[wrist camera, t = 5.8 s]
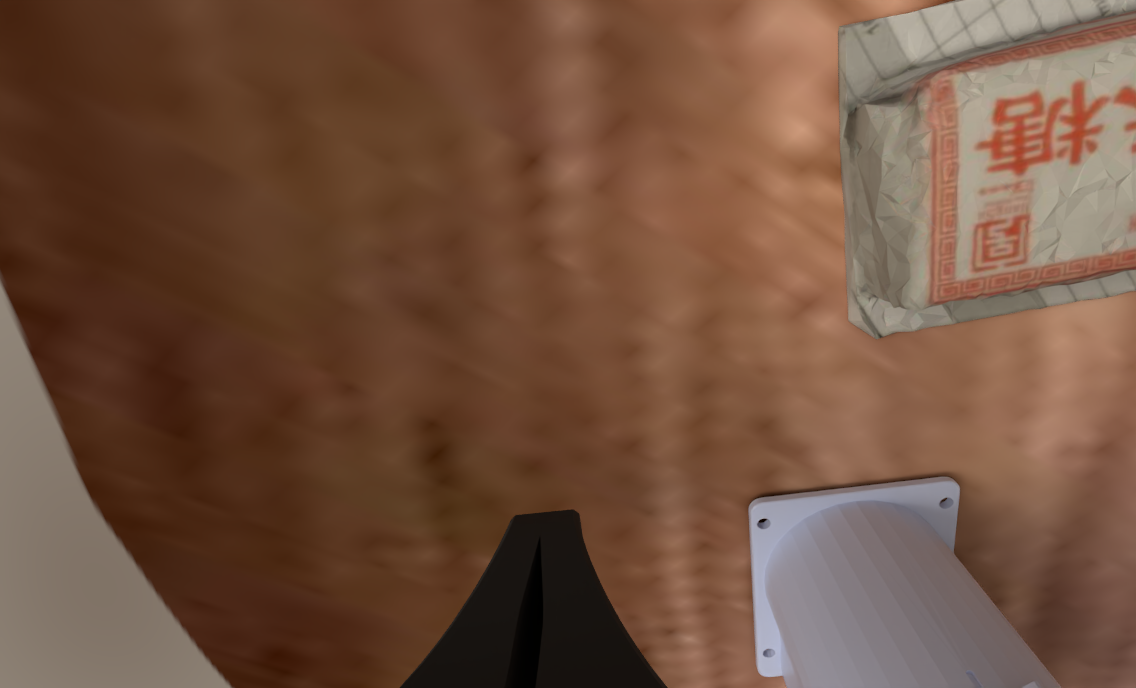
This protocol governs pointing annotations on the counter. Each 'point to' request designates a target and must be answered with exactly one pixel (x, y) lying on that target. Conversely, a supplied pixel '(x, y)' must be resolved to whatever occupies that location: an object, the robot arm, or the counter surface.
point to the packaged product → (987, 159)
